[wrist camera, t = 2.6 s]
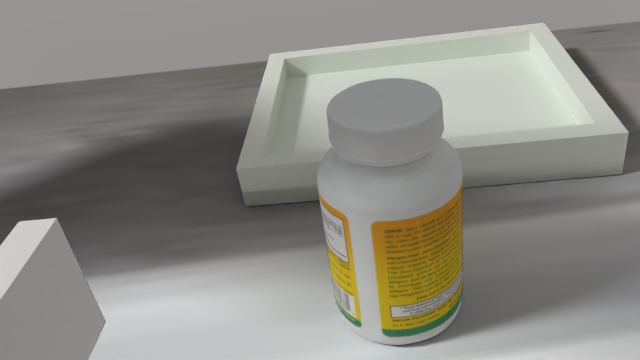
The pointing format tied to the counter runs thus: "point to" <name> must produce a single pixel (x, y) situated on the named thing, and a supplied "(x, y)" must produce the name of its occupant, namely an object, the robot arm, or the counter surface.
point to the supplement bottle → (392, 211)
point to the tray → (458, 110)
